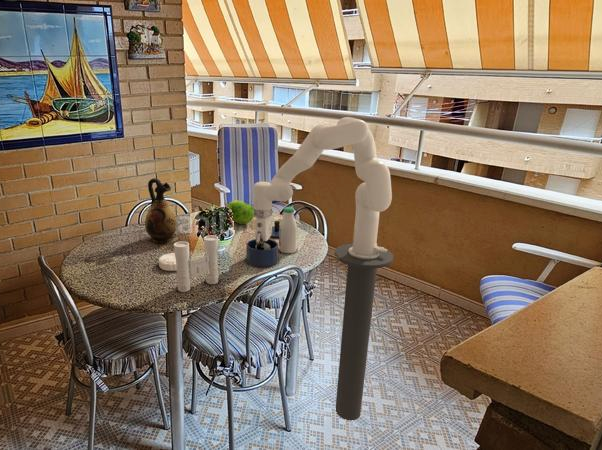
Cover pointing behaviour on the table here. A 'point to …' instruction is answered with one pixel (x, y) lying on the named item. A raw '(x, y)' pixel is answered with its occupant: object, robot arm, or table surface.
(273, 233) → the pot lid
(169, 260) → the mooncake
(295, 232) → the milk bottle
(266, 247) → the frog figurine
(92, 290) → the table surface
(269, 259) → the pot
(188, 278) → the binoculars
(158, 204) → the ceramic jug
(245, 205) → the green fuzzy rounded mound
